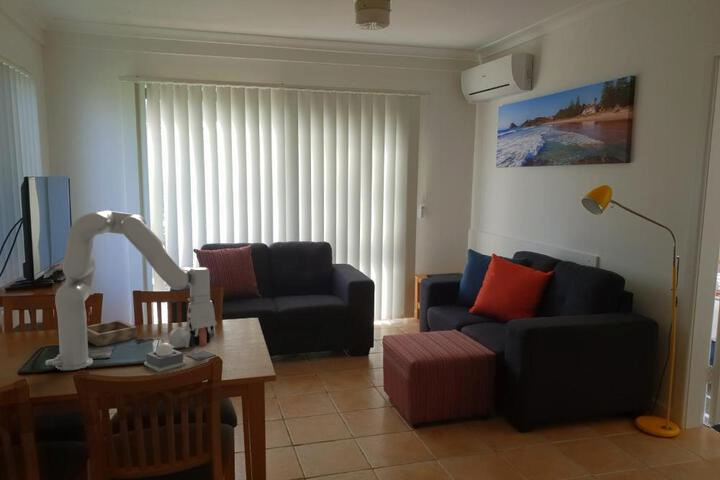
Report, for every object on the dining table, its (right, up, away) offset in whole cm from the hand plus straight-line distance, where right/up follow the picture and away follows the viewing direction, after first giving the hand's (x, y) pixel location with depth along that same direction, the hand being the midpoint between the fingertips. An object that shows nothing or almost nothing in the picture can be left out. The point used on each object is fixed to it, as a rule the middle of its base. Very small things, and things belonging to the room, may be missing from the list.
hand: (201, 343), depth 219 cm
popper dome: (-11, -3, -10) cm, 15 cm away
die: (-13, -3, +6) cm, 14 cm away
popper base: (-11, -6, -10) cm, 16 cm away
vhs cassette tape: (-6, -3, +22) cm, 23 cm away
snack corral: (-47, -2, +23) cm, 52 cm away
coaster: (0, -5, 0) cm, 5 cm away
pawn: (0, -1, 0) cm, 1 cm away
